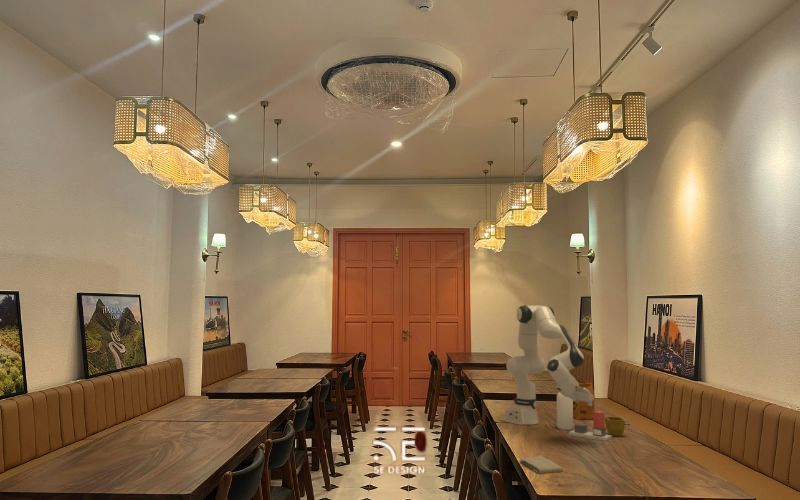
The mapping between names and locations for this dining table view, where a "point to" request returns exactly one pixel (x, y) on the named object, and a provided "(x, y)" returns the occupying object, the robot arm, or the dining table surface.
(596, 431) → the grey cubes on base
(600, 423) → the tall red square pillar
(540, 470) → the washcloth
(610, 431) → the flower pot
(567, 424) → the alcohol
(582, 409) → the coffee package
